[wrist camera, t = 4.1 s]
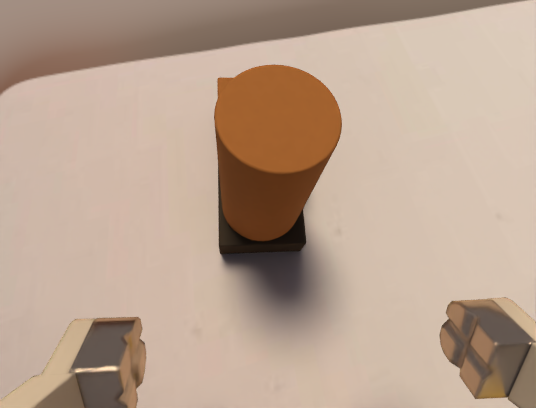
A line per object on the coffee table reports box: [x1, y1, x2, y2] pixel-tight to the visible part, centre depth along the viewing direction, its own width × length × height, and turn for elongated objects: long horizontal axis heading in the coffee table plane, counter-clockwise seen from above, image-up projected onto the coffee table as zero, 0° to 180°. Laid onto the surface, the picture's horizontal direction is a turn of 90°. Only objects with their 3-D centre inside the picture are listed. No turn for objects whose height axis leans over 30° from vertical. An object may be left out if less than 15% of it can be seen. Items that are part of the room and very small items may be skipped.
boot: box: [214, 65, 342, 254], centre depth 19 cm, size 5×10×11 cm, turn 3°
